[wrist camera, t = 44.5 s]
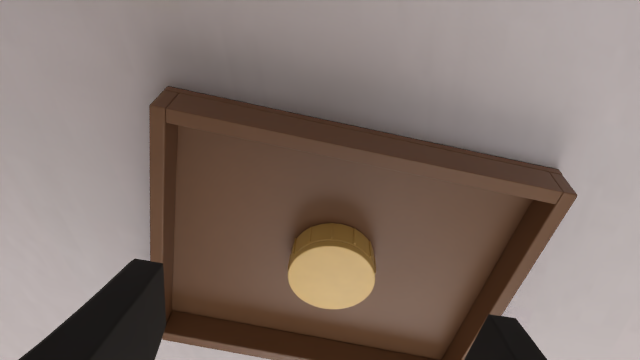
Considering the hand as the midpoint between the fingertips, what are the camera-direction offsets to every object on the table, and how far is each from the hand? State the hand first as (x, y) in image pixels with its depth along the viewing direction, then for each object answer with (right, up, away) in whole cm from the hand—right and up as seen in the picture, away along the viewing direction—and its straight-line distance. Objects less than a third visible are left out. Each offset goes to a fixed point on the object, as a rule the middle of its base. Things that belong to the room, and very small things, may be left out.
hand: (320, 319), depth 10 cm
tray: (+1, 0, +12) cm, 12 cm away
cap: (+1, -1, +10) cm, 10 cm away
